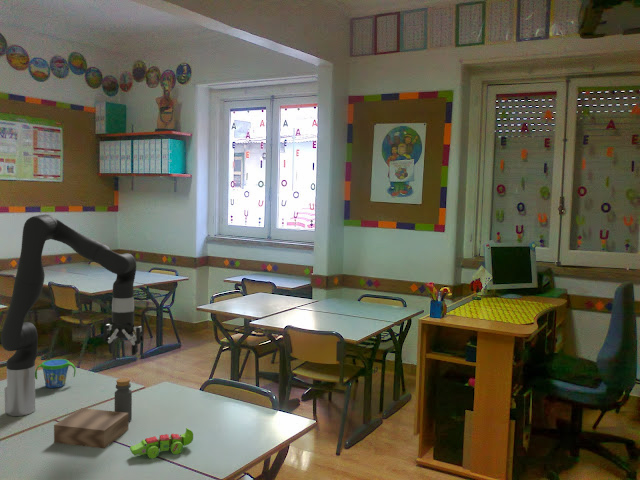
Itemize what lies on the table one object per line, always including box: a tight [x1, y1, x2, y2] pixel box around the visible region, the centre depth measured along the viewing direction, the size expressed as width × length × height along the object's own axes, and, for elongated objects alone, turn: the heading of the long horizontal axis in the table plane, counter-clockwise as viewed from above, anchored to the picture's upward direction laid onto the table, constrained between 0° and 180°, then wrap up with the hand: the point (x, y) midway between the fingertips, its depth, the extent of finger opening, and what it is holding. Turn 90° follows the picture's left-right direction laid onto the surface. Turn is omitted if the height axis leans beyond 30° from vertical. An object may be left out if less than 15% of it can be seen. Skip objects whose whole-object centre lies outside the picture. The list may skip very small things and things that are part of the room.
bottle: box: [114, 377, 133, 423], centre depth 199 cm, size 6×6×15 cm
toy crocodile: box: [129, 427, 194, 459], centre depth 176 cm, size 20×7×6 cm, turn 117°
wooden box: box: [53, 407, 129, 449], centre depth 186 cm, size 18×15×6 cm
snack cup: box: [35, 358, 77, 389], centre depth 233 cm, size 16×10×10 cm
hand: (123, 353), depth 198 cm, fingers open, 8 cm apart
